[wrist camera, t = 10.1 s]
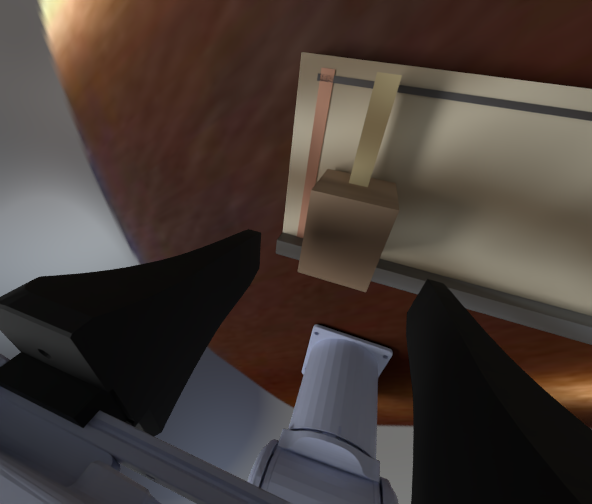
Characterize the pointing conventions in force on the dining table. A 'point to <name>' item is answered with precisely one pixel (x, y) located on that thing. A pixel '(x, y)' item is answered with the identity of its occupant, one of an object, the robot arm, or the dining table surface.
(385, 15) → the dining table surface
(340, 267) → the marking gauge
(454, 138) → the cream flat tray
